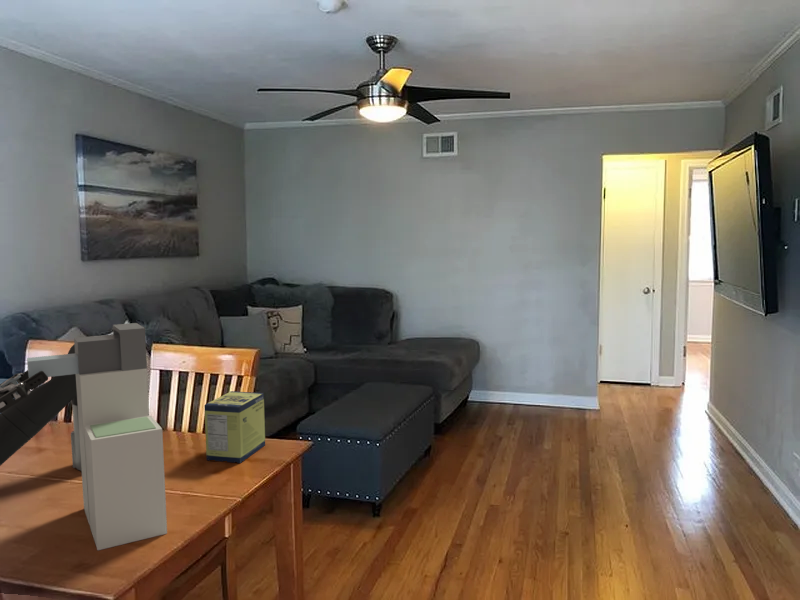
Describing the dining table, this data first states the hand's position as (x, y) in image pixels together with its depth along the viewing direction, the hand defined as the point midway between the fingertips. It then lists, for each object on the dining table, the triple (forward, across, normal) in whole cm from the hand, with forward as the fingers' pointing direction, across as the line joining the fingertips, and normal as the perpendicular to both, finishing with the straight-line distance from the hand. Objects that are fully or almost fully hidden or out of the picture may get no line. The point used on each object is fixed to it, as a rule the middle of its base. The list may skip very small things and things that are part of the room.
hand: (44, 370), depth 133 cm
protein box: (+24, -23, -52) cm, 62 cm away
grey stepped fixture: (-5, +6, -35) cm, 36 cm away
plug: (+5, -1, -4) cm, 6 cm away
